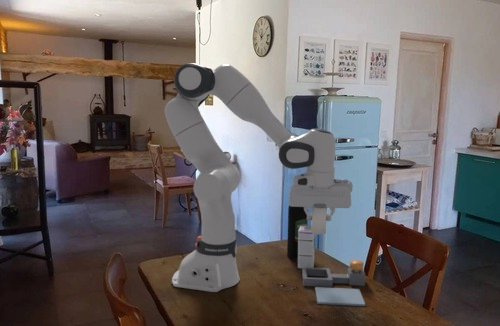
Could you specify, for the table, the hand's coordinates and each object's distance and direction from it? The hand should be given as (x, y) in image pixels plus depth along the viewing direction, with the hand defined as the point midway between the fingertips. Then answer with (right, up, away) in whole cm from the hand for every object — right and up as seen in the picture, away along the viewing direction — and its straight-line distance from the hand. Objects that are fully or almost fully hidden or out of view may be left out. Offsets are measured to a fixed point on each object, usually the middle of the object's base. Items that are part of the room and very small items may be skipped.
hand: (318, 220), depth 138 cm
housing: (+5, -21, +3) cm, 22 cm away
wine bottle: (-4, -18, +25) cm, 31 cm away
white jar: (0, -4, +1) cm, 4 cm away
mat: (+5, -23, -9) cm, 25 cm away
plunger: (+13, -21, +2) cm, 24 cm away
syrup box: (-2, -19, +15) cm, 25 cm away
